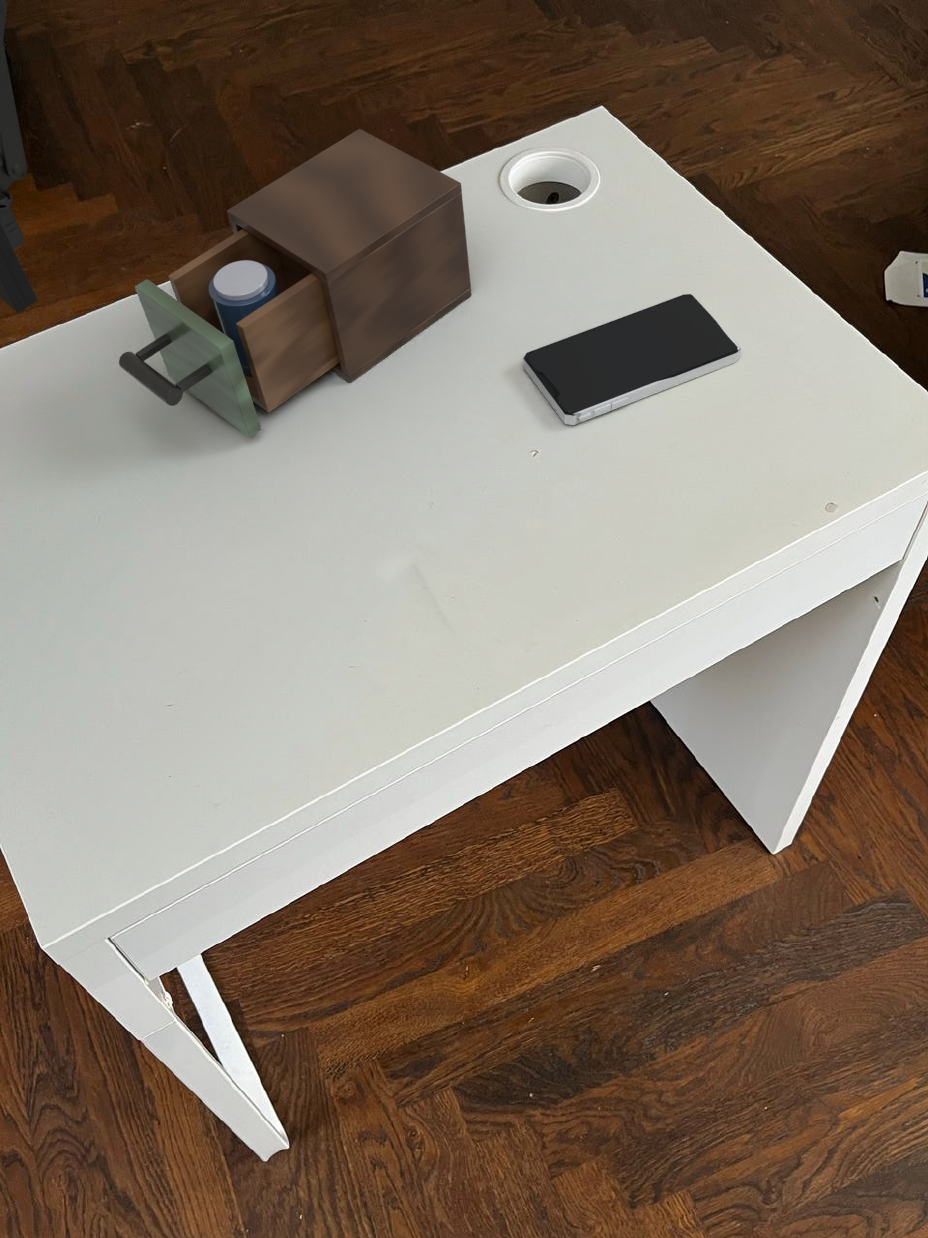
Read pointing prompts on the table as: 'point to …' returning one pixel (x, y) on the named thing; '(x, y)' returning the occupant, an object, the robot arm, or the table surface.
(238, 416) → the drawer
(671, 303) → the smartphone
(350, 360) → the cabinet
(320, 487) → the table surface
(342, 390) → the table surface
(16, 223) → the robot arm
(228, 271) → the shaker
